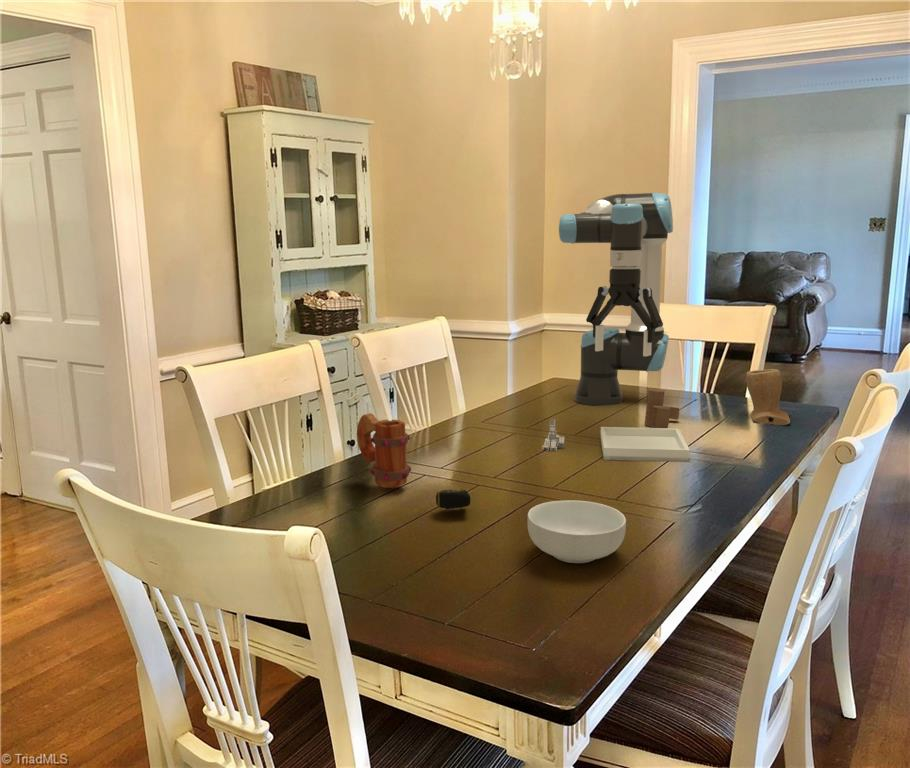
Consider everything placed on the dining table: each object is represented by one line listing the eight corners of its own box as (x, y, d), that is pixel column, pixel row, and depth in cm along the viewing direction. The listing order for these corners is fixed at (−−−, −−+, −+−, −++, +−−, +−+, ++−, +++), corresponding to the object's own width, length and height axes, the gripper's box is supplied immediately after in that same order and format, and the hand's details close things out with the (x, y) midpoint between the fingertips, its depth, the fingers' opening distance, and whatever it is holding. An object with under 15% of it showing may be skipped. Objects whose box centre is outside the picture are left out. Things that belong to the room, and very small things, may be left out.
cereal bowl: (641, 569, 129) (643, 529, 127) (545, 580, 125) (545, 538, 124) (601, 531, 145) (602, 494, 144) (515, 539, 142) (515, 502, 140)
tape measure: (471, 510, 153) (470, 491, 153) (436, 512, 152) (435, 493, 153) (470, 506, 159) (469, 488, 160) (436, 508, 159) (435, 489, 159)
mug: (419, 484, 172) (418, 418, 169) (392, 494, 166) (390, 425, 163) (375, 471, 182) (373, 408, 179) (348, 479, 176) (345, 414, 173)
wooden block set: (673, 438, 207) (678, 400, 205) (639, 433, 210) (644, 396, 207) (678, 423, 223) (682, 388, 221) (647, 419, 226) (651, 384, 224)
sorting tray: (600, 437, 208) (600, 426, 207) (678, 439, 205) (678, 428, 204) (603, 459, 188) (603, 447, 188) (689, 462, 186) (689, 450, 185)
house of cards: (574, 455, 193) (575, 425, 192) (540, 453, 196) (540, 423, 194) (580, 446, 202) (580, 417, 200) (546, 443, 204) (546, 415, 203)
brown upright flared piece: (743, 414, 231) (746, 364, 228) (786, 416, 228) (790, 366, 225) (743, 426, 217) (746, 373, 214) (790, 429, 214) (794, 375, 211)
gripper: (573, 267, 198) (572, 350, 202) (664, 269, 182) (661, 359, 186) (589, 266, 204) (588, 347, 208) (679, 268, 188) (675, 356, 192)
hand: (622, 353), depth 197 cm, fingers open, 13 cm apart
